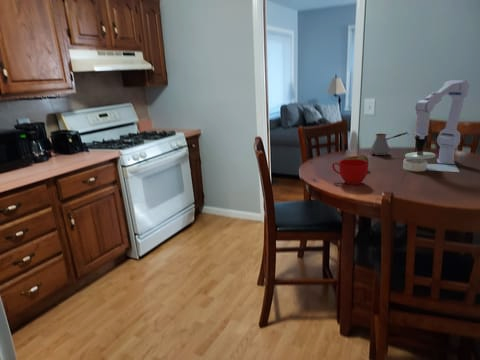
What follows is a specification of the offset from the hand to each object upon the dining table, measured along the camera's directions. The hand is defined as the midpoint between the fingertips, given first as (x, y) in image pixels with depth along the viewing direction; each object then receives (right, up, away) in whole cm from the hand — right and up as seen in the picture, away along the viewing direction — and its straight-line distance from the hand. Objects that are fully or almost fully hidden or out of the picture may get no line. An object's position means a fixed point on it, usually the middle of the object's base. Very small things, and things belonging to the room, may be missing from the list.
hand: (419, 150), depth 176 cm
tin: (-32, -10, +6) cm, 34 cm away
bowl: (-1, -9, +3) cm, 10 cm away
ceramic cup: (-41, -17, -14) cm, 46 cm away
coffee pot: (-1, 0, +36) cm, 36 cm away
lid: (+1, -3, +1) cm, 3 cm away
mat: (+13, -9, +2) cm, 16 cm away
